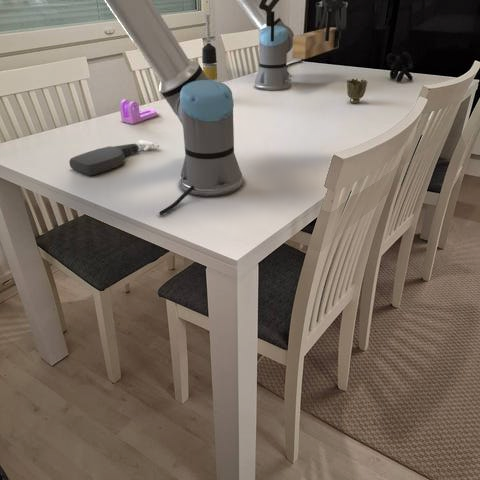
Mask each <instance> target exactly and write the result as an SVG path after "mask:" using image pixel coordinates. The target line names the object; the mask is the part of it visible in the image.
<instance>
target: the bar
mask: <svg viewBox="0 0 480 480" xmlns="http://www.w3.org/2000/svg"><path fill="white" fill-rule="evenodd" d="M336 30H337V29H336V27H333V26H330V32H329V41H325V31H326V27H324V28H323V29H320V30H319V29H316V30H312V31H308V32H305V33H302V34H298V35H294V36H293V47H292V52H291V53H292V54H291V55H292V59H296V60H297V59H299V60H301V59H303V60H306V59H309V58H312V57H315V56H318V55H322V54H324V53H327V52H330V51H332V50H336V49H338V48H339V46H340V45H339V44H340V41H339V42H338V47H337V48H334V37H335V31H336Z"/></svg>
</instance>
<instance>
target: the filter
mask: <svg viewBox="0 0 480 480" xmlns="http://www.w3.org/2000/svg"><path fill="white" fill-rule="evenodd" d="M210 17H211V14H204V18H205V27H206V29H205V30H206V31H205V33H206V39H207V40H206V42H207V43H206V45H204V46H202V49H201V50H202V51H201V52H202V54H201V55H202V57H201V58H202V61H201V63H202V70H203V71H204V73H205V75H206V76H207V78H208V79H209V80H213V81H217V80H218V64H216V63H218V61H217V48H216V47H215V46H214V45H212V43H210V42H211V40H210V39H211V31H210V29H211V28H210Z"/></svg>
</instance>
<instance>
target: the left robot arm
mask: <svg viewBox="0 0 480 480" xmlns="http://www.w3.org/2000/svg"><path fill="white" fill-rule="evenodd" d="M279 1H280V0H271V1H270V3H269V4H267V2H268V0H262V1H261V3H260V5H259V8H260V9H262V10H265V11H266V13H267V17H266V25H267V26H271V42H274V16H275V11H274V10H273V9H274V8H275V7H276V5H277V4H278V3H279ZM324 1H325V2H326V3H327V5H328V6H329V8H330V11H327V18H326V23H325V28H326V31H325V41H329V32H330V27H335V25H336V23H335V15H336V11H337V10H338V9H339V10H341V9H342V8H343V7H344V3H343V2H344V0H336V1H337V4H334V3H333V2H332V0H324ZM104 2H105V3H106V5H107V7H109V9H110V11H111V12H112V14H113V15H114V17H115V18H116V20H117V21H118V22H119V24H120V25H121V27H122V28H123V29H124V31H125V32H126V34H127V36H129V38H130V40H131V41H132V43H133V44H134V45H135V47H136V48H137V49H138V51H139V53H140V54H141V56H142V57H143V58H144V60H145V61H146V62H147V64H148V65H149V68H151V70H152V72H153V73H154V74H155V75H156V77H157V78H158V80H159V89H158V90H159V92H160V94H161V95H162V97H163V98H164V99H165V101H166V102H167V104H168V105H169V106H170V108H171V109H172V111H173V113H174V114H175V116H177V118H178V120H179V122H180V123H181V125H182V130H183V143H184V154H185V155H184V158H183V164H182V168H181V171H180V176H179V183H180V184H179V185H180V188H181V189H182V191H184V192H183V193H182V194H181V195H180V196H179V197H178V198H177V199H176V200H175V201H174V202H173V203H172V204H170V205H168V206H167V207H165V208H163V209H162V210H159V212H158V214H159V215H160V216H163V215H164V214H166V213H168V212H169V211H171V210H173V209H174V208H175V207H177V206H178V205H179V204H180V203H181V202H182V201H183V200H184V199H185V198H186V197H187V196H188V195H194V196H199V197H221V196H224V195H229V194H232V193H234V192H235V191H237V190H239V189H240V188H241V187H242V185H243V174H242V171H241V168H240V165H239V163H238V160H237V157H236V154H235V132H234V131H235V130H234V127H235V126H234V106H235V104H234V97H233V92H232V90H231V88H230V87H229V86H228V85H227V84H225V83H223V82H221V81H217V80H209V79H208V78H207V76H206V75H205V73H204V71H203V67H201V65H200V63H199V62H198V61H194V60H190V59H189V57H188V56H187V54H186V52H185V51H184V49H183V47H182V46H181V45H180V44H179V42H178V40H177V38H176V37H175V35H174V34H173V32H172V31H171V29H170V28H169V26H168V24H167V22H166V21H165V20H164V18H163V16H162V14H161V13H160V11H159V10H158V8H157V7H156V5H155V4H154V2H153V1H152V0H104Z"/></svg>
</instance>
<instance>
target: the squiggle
mask: <svg viewBox="0 0 480 480" xmlns="http://www.w3.org/2000/svg"><path fill="white" fill-rule="evenodd" d="M401 57H402V59H401ZM391 59H392V60H391ZM393 60H394V61H393ZM385 61H386V64H387V67H390V68H391V70H390V72H389V78H390V79H391V80H395V79H396V81H397V82H399V83H400V82H402V81H403V79H404V76H406V78H407V80H408V81H412V80H413V79H414V77H413V75H412V74H411V73H410V72H409V71H410V70H412V69H413V68H414V64H413V61H412V57H411V54H410V53H409V52H408V51H403V53H402V54H401V55H396V54H394V53H392V52H390V53H387V55H386V57H385ZM406 62H407V65H408V66H407V67H405V66H404V65H405V64H406ZM400 70H401V71H400Z"/></svg>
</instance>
